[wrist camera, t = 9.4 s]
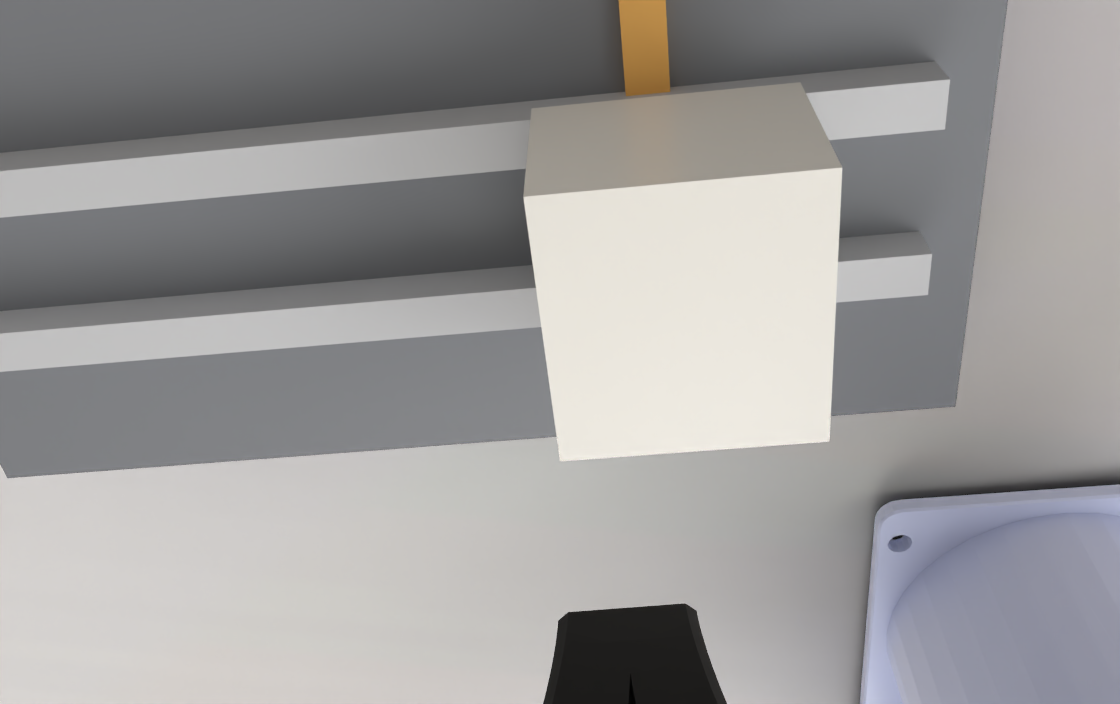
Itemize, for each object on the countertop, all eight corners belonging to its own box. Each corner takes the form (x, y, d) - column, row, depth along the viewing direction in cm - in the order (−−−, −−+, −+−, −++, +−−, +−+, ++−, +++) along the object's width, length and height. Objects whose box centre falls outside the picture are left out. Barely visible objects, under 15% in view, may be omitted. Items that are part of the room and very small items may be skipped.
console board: (933, 361, 22) (967, 432, 20) (38, 432, 23) (-11, 504, 21) (993, -180, 16) (1049, -153, 14) (-195, -45, 17) (-290, -5, 15)
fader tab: (786, 305, 19) (829, 441, 16) (562, 324, 19) (560, 461, 16) (791, 63, 16) (842, 167, 13) (533, 89, 17) (523, 196, 13)
